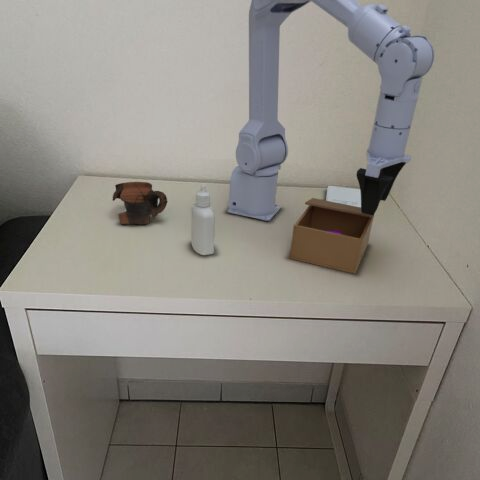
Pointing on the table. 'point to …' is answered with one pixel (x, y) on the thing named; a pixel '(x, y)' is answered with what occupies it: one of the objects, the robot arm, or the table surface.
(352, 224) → the carton
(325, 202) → the carton flap
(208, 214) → the eye dropper bottle
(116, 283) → the table surface
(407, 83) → the robot arm
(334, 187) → the hard drive
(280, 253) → the table surface
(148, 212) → the pottery mug
